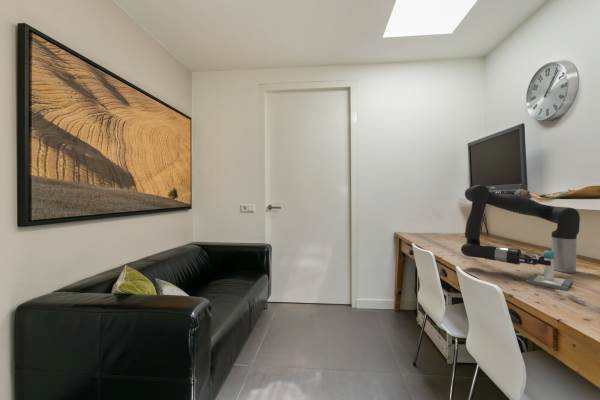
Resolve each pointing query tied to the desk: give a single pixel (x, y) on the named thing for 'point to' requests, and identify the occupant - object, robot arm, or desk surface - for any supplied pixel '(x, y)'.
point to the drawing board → (549, 282)
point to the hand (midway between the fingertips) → (552, 261)
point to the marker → (549, 269)
